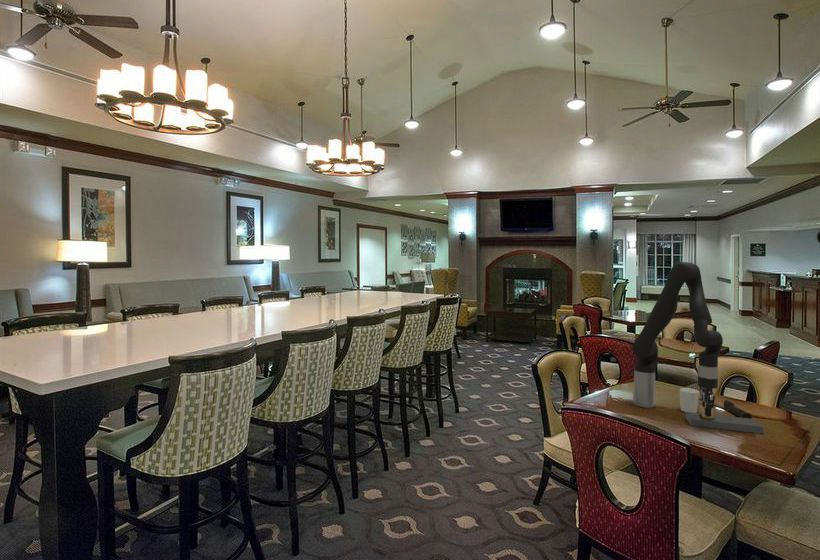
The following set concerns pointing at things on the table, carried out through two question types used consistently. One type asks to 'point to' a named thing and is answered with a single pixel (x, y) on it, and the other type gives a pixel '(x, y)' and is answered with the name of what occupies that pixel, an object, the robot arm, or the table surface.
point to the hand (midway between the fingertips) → (706, 414)
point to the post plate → (725, 423)
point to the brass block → (702, 412)
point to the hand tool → (736, 410)
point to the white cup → (689, 400)
